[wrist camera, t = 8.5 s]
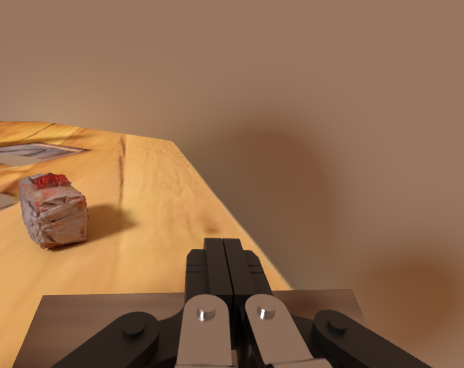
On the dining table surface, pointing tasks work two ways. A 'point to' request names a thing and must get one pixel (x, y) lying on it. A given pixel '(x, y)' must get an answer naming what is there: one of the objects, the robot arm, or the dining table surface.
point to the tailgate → (157, 304)
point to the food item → (53, 210)
